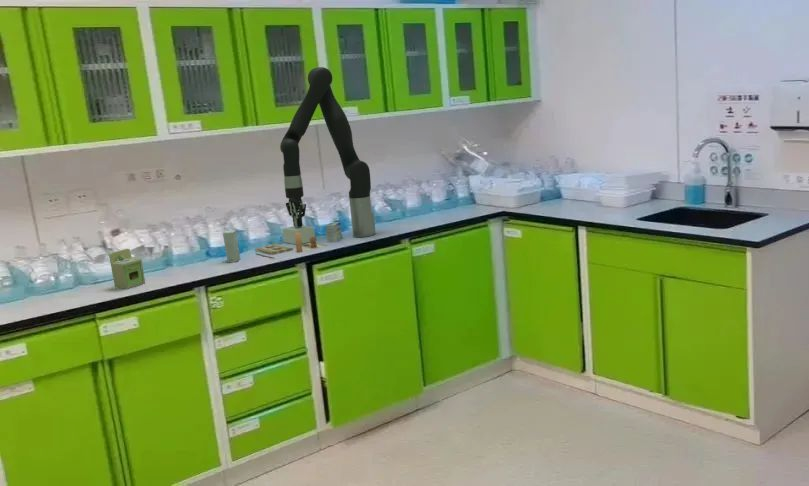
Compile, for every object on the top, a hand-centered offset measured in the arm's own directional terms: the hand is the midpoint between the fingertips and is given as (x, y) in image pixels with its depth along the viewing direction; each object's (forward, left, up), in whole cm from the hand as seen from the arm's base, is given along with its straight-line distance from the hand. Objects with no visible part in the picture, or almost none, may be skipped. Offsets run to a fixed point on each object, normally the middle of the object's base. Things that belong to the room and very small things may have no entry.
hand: (298, 226), depth 325 cm
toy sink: (+75, +4, -9) cm, 76 cm away
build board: (+16, +6, -8) cm, 19 cm away
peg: (+11, +18, -8) cm, 23 cm away
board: (+3, +13, -8) cm, 16 cm away
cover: (0, 0, -7) cm, 7 cm away
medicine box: (-10, +12, -9) cm, 18 cm away
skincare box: (+32, +1, -8) cm, 33 cm away
